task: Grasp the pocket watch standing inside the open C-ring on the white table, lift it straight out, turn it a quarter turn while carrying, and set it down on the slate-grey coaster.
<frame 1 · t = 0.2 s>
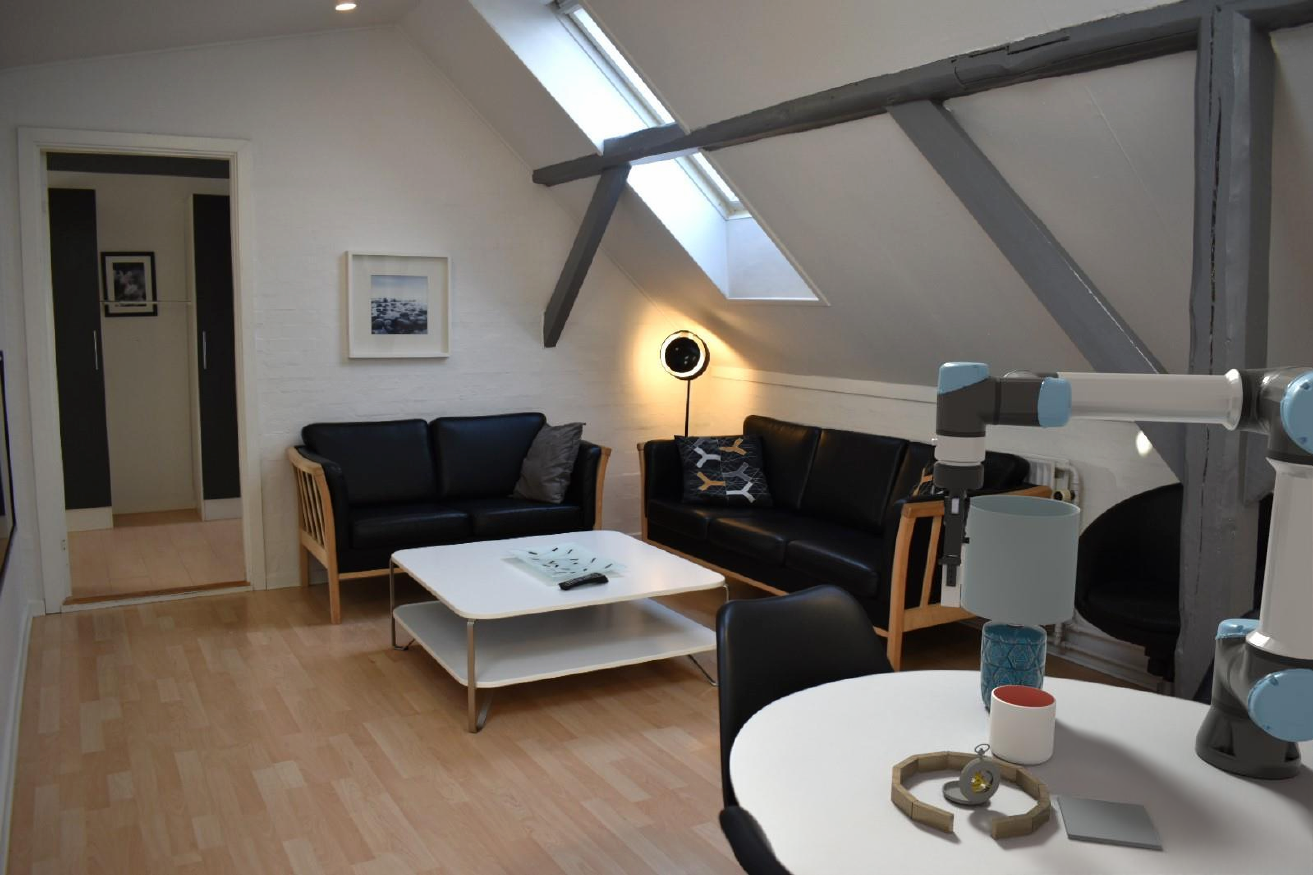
hand: (952, 594, 168), 28 cm above the table, fingers open, 13 cm apart
cup: (1019, 755, 175), on the table
coaster: (1106, 822, 152), on the table
lamp: (1009, 709, 194), on the table
pocket watch: (968, 801, 159), resting in c ring
c ring: (968, 799, 159), on the table
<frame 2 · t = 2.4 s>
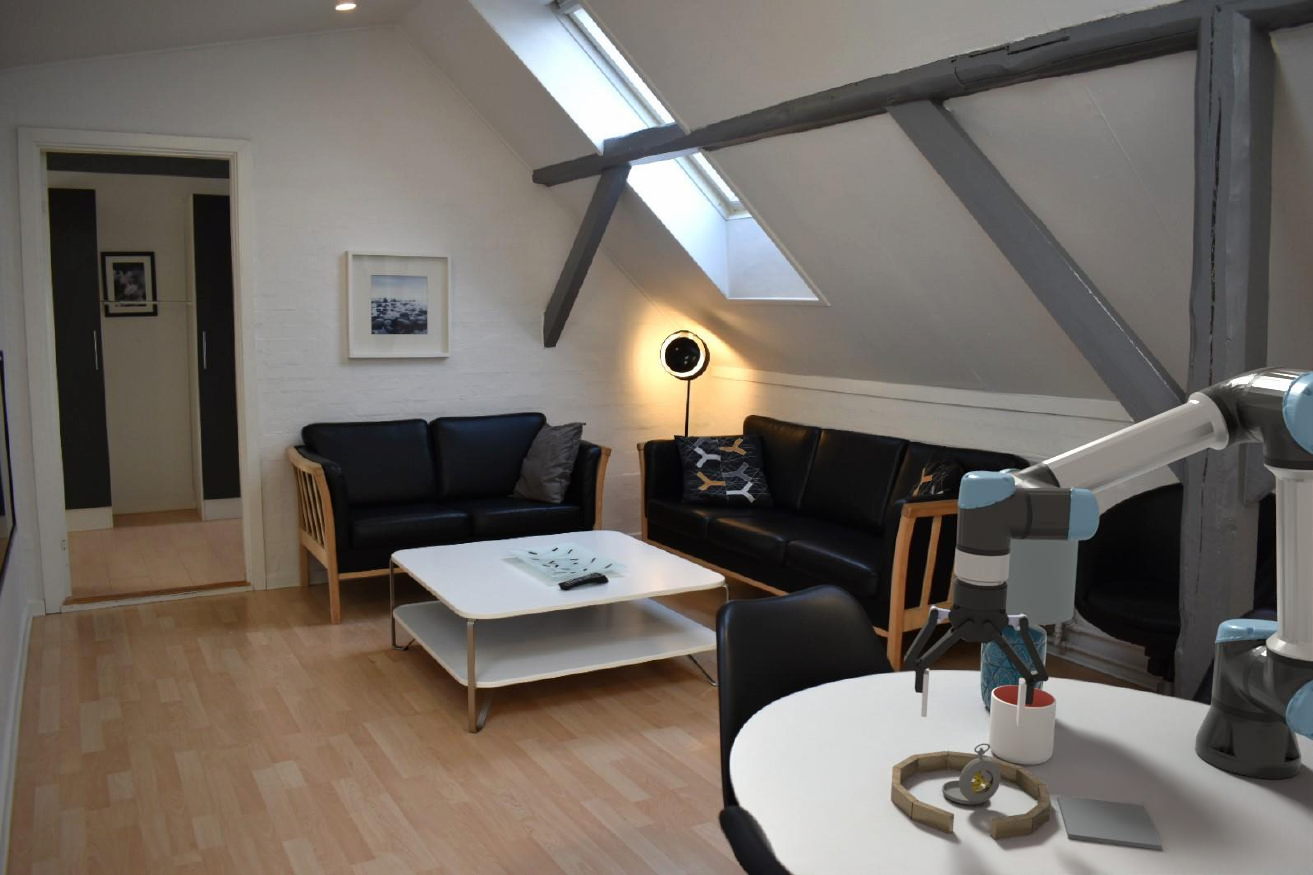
hand: (971, 718, 157), 13 cm above the table, fingers open, 13 cm apart
nothing on the table moved.
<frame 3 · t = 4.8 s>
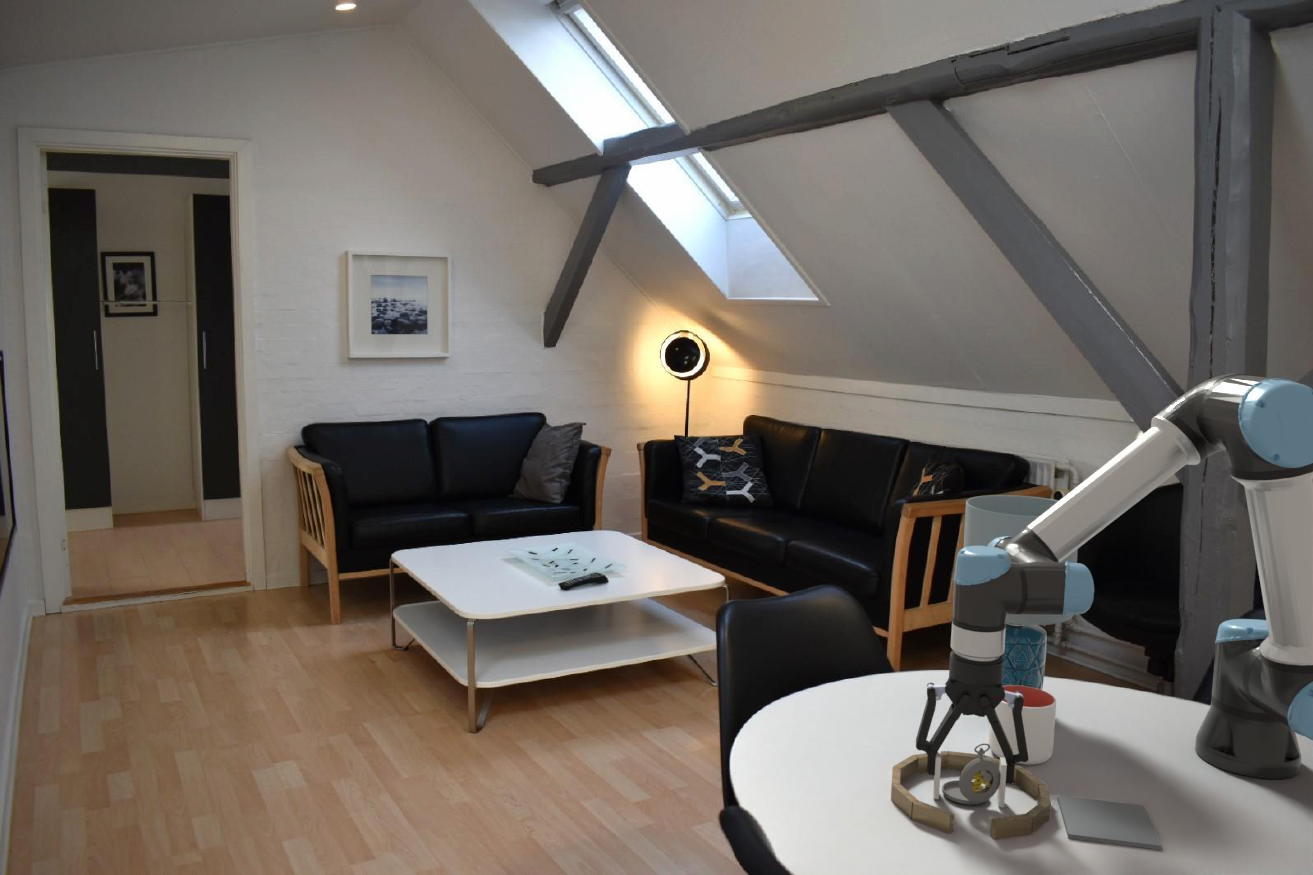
hand: (968, 798, 158), 0 cm above the table, fingers open, 9 cm apart
pocket watch: (968, 801, 159), resting in c ring, touching gripper
everything else where it was.
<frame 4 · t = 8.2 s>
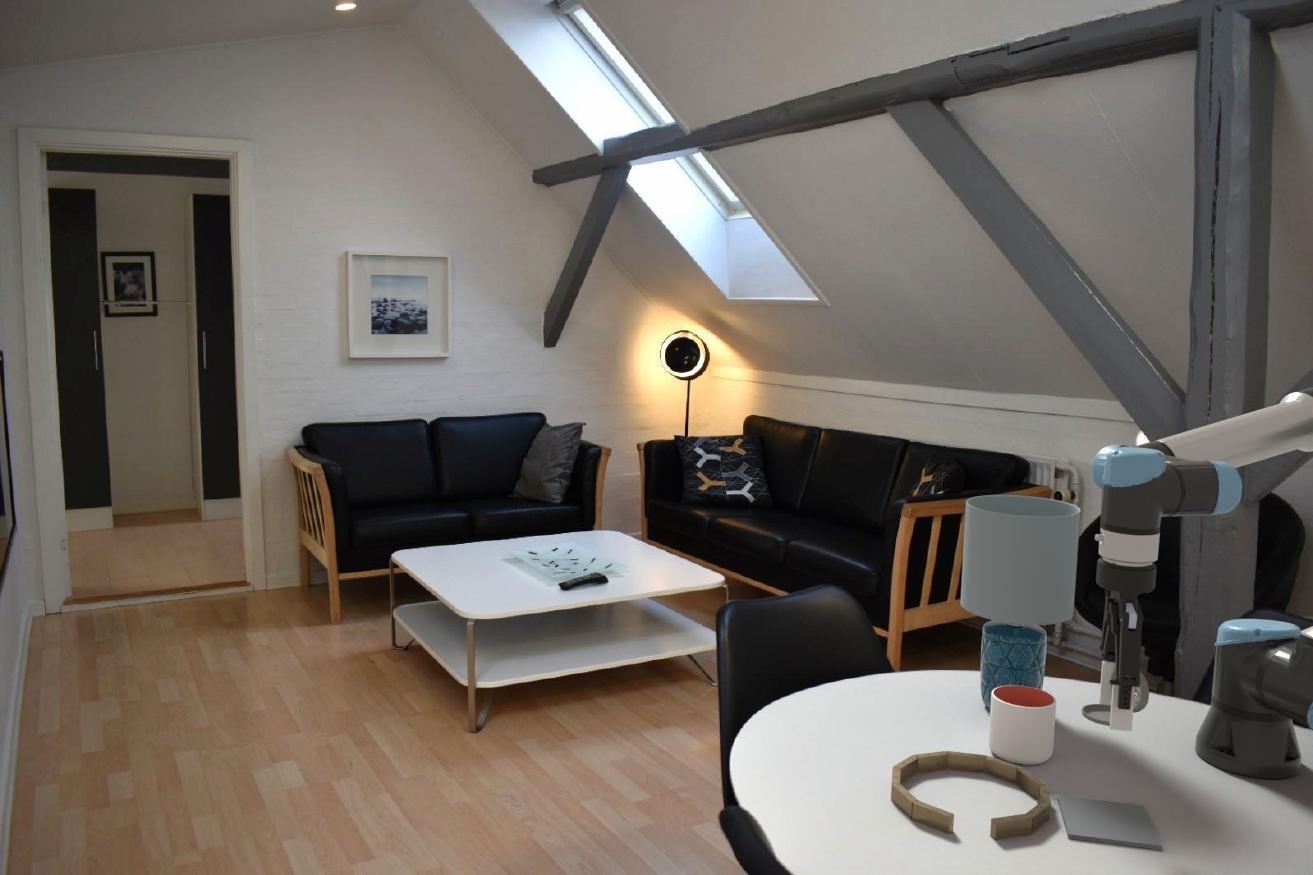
hand: (1114, 716, 150), 16 cm above the table, fingers closed on pocket watch, 8 cm apart
pocket watch: (1114, 720, 150), point 15 cm above the table, touching gripper
everything else where it was.
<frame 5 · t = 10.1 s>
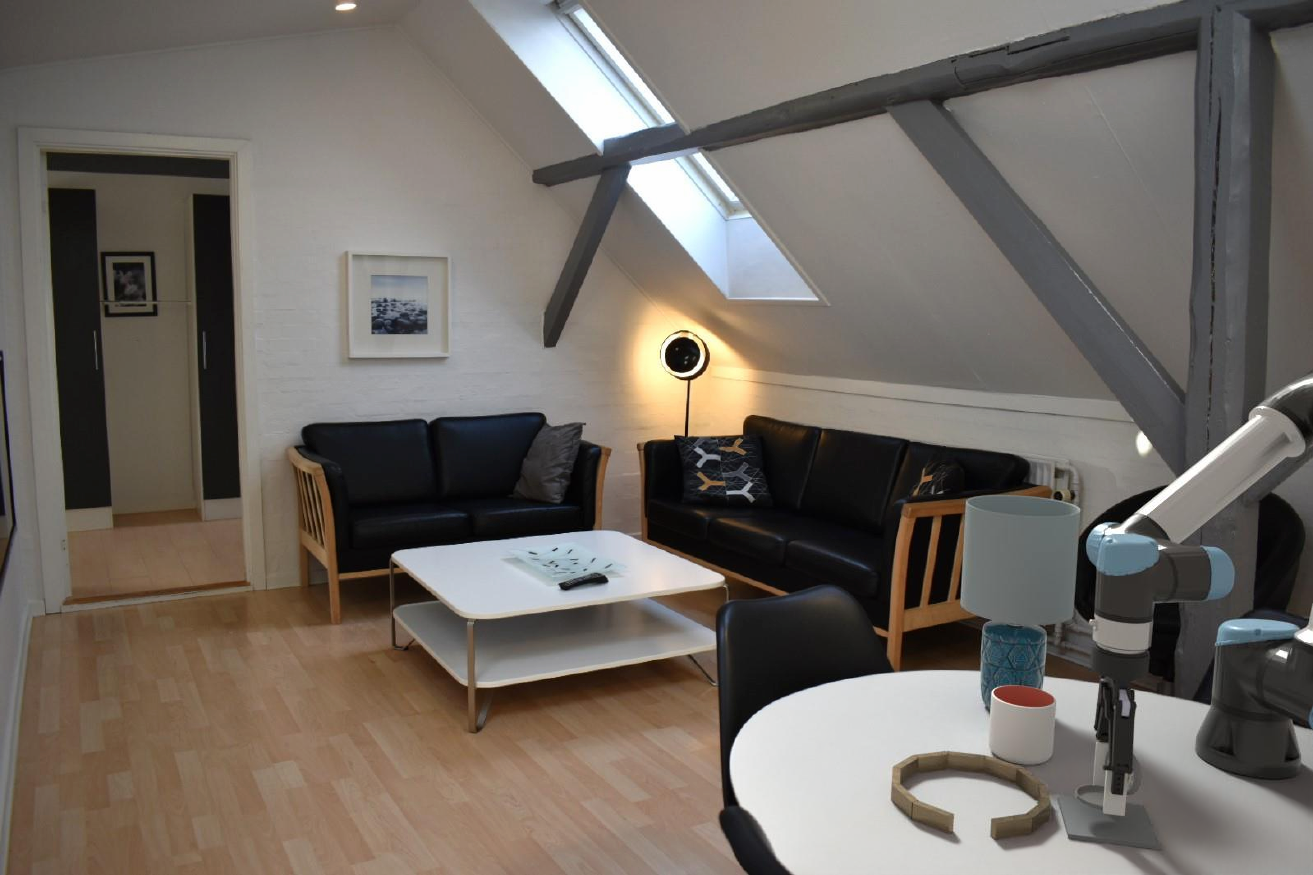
hand: (1108, 798, 152), 4 cm above the table, fingers closed on pocket watch, 8 cm apart
pocket watch: (1107, 802, 152), point 3 cm above the table, touching gripper
everything else where it was.
when the fingers open (2 cm above the table, at t = 11.4 s): pocket watch drops 1 cm, resting on coaster.
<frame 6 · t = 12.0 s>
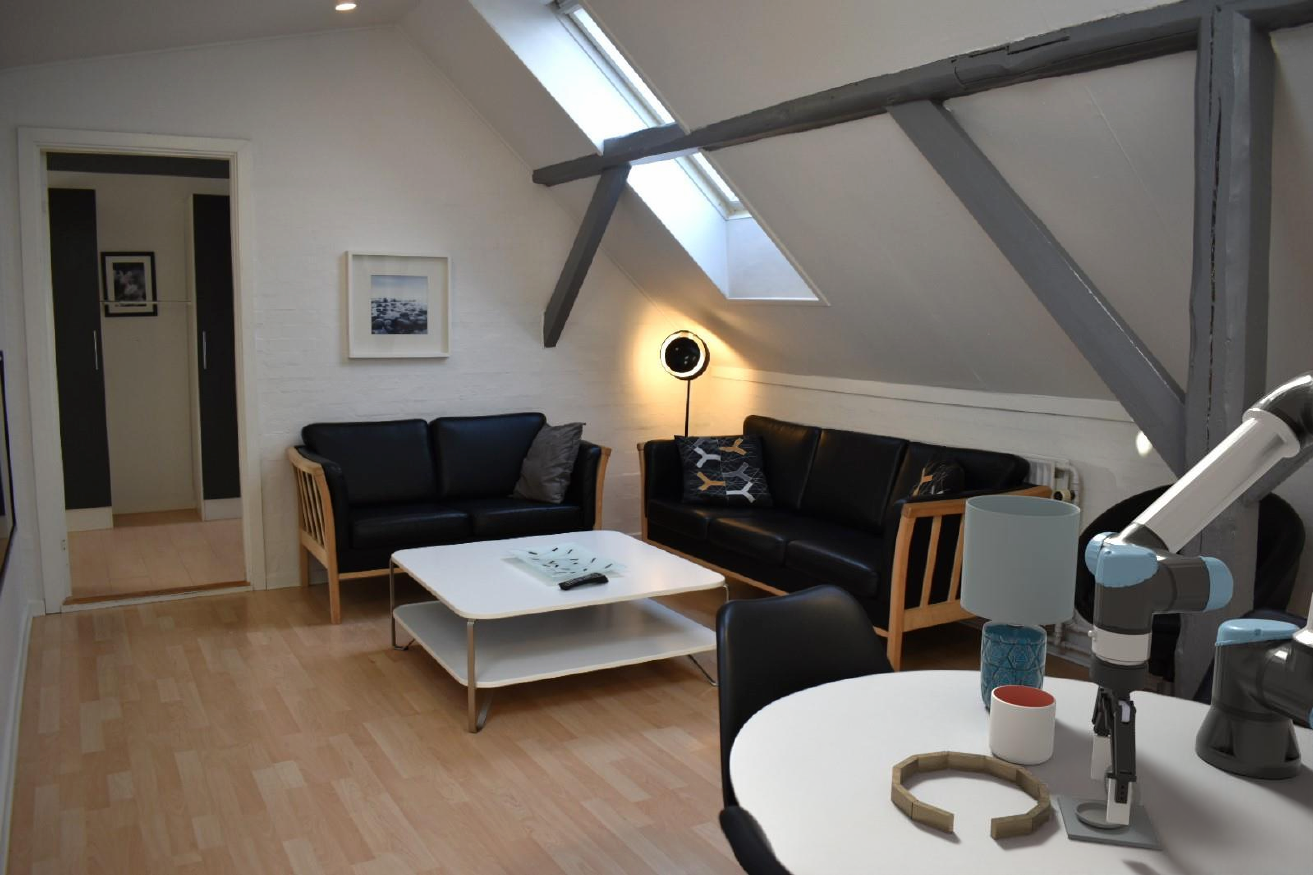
hand: (1108, 799, 152), 4 cm above the table, fingers open, 13 cm apart
pocket watch: (1106, 820, 152), resting on coaster
everything else where it was.
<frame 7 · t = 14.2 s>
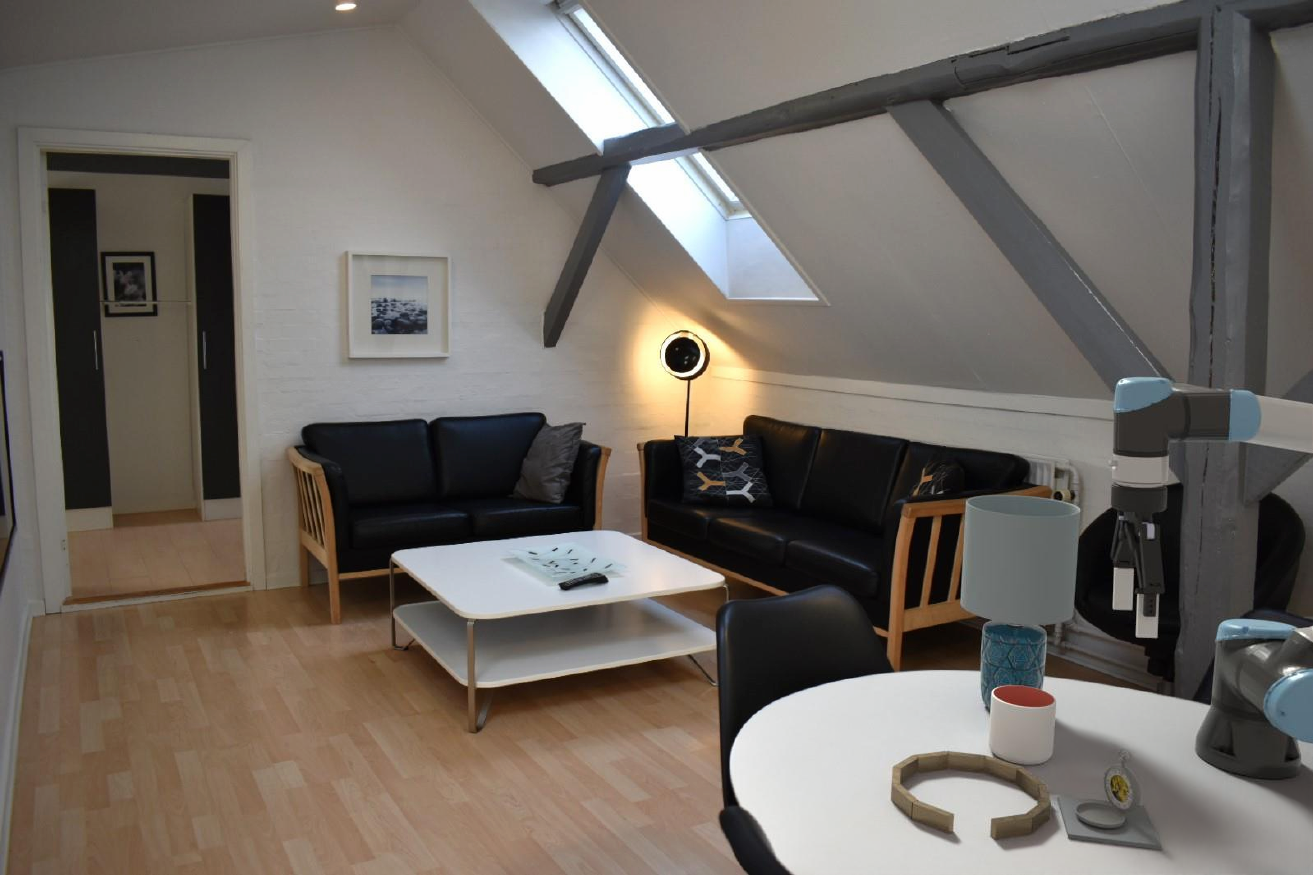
hand: (1133, 622, 159), 26 cm above the table, fingers open, 13 cm apart
nothing on the table moved.
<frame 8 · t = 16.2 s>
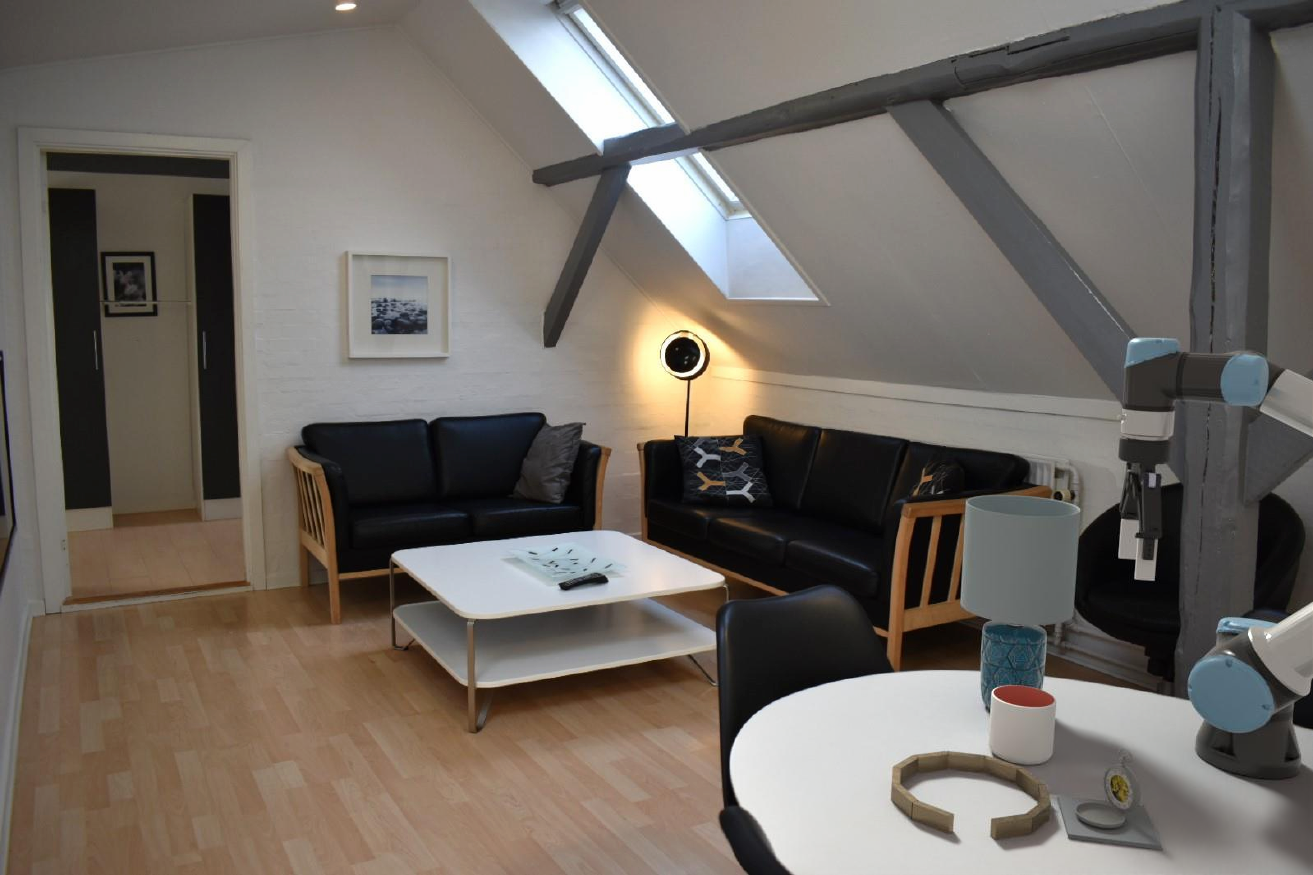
hand: (1135, 568, 170), 32 cm above the table, fingers open, 13 cm apart
nothing on the table moved.
at the end: pocket watch inside the target area (0.0 cm from its centre), resting on coaster; the gripper is holding nothing; pocket watch moved 19.1 cm from its start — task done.
